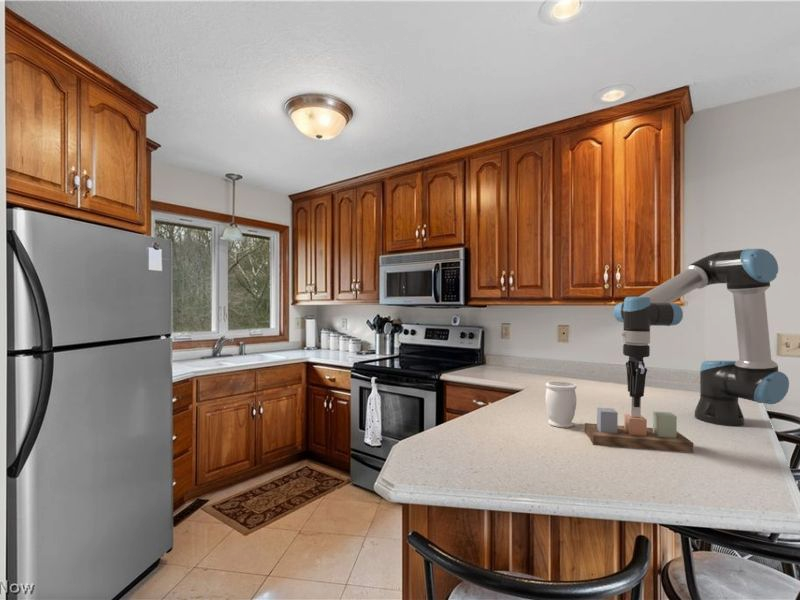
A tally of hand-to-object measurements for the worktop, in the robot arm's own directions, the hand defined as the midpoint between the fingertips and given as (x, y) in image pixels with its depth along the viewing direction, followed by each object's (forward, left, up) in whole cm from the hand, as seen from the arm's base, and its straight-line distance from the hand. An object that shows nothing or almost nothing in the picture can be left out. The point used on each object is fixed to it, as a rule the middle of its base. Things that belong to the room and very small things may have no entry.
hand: (635, 416), depth 134 cm
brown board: (0, 0, -8) cm, 8 cm away
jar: (+21, -13, -9) cm, 26 cm away
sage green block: (-9, 0, -6) cm, 11 cm away
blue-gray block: (+8, 0, -6) cm, 10 cm away
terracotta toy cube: (0, 0, -8) cm, 8 cm away
